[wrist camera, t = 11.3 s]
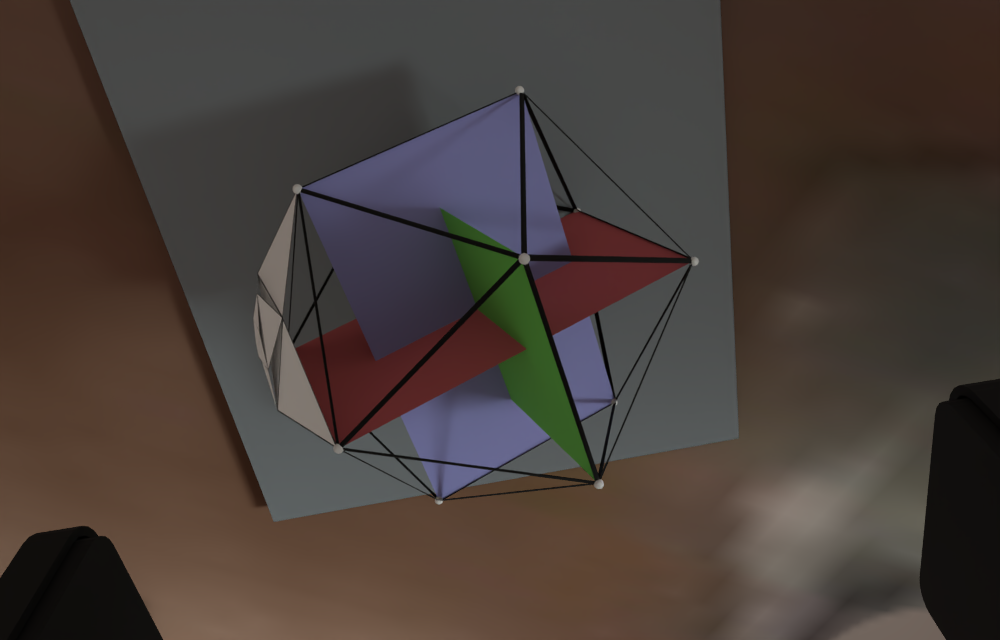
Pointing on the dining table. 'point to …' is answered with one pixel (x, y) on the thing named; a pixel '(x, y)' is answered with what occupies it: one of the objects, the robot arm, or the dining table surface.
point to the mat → (397, 118)
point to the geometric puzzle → (457, 302)
